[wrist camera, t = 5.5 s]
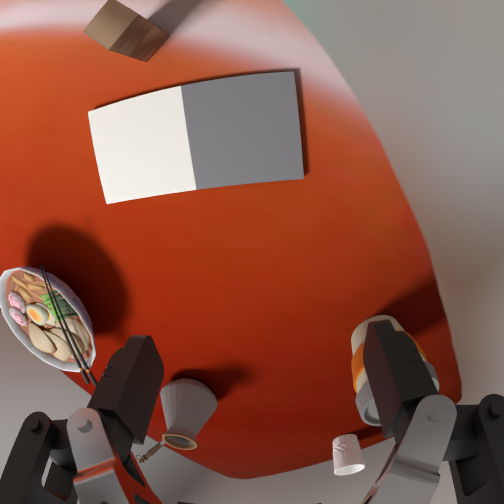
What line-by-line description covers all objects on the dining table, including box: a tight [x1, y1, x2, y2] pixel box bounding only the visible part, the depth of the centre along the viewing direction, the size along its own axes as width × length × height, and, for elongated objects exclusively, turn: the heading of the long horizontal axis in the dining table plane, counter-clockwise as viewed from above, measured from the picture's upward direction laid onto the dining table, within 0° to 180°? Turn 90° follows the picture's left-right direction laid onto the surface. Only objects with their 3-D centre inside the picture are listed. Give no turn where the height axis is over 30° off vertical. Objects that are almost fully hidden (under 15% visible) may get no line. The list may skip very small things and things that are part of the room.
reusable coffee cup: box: [351, 315, 439, 426], centre depth 40 cm, size 12×13×15 cm
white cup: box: [333, 434, 365, 475], centre depth 60 cm, size 8×8×10 cm
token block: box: [83, 0, 169, 62], centre depth 23 cm, size 4×4×10 cm
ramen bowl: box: [0, 264, 98, 386], centre depth 42 cm, size 25×23×8 cm
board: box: [88, 71, 304, 204], centre depth 33 cm, size 26×13×1 cm, turn 96°
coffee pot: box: [136, 378, 217, 463], centre depth 50 cm, size 21×12×15 cm, turn 135°
